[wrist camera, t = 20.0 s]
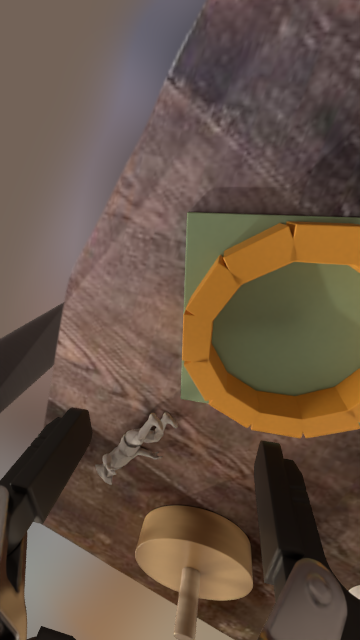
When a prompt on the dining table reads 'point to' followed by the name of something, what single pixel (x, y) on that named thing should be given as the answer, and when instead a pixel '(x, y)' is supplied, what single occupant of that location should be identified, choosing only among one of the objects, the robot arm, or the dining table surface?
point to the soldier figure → (134, 445)
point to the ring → (218, 288)
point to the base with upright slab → (355, 591)
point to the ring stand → (194, 559)
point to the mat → (277, 311)
